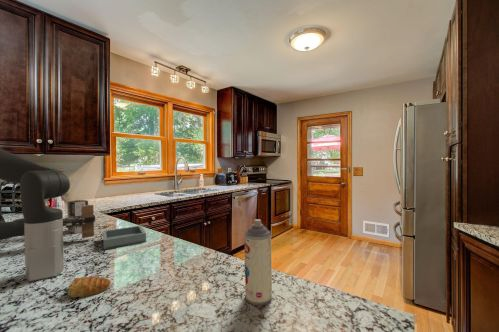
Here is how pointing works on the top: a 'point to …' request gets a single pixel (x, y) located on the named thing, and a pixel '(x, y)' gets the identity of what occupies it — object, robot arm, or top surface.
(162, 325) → the top surface
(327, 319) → the top surface
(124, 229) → the slate tray
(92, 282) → the pastry
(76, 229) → the coffee box
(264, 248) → the aerosol can
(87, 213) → the walnut block
